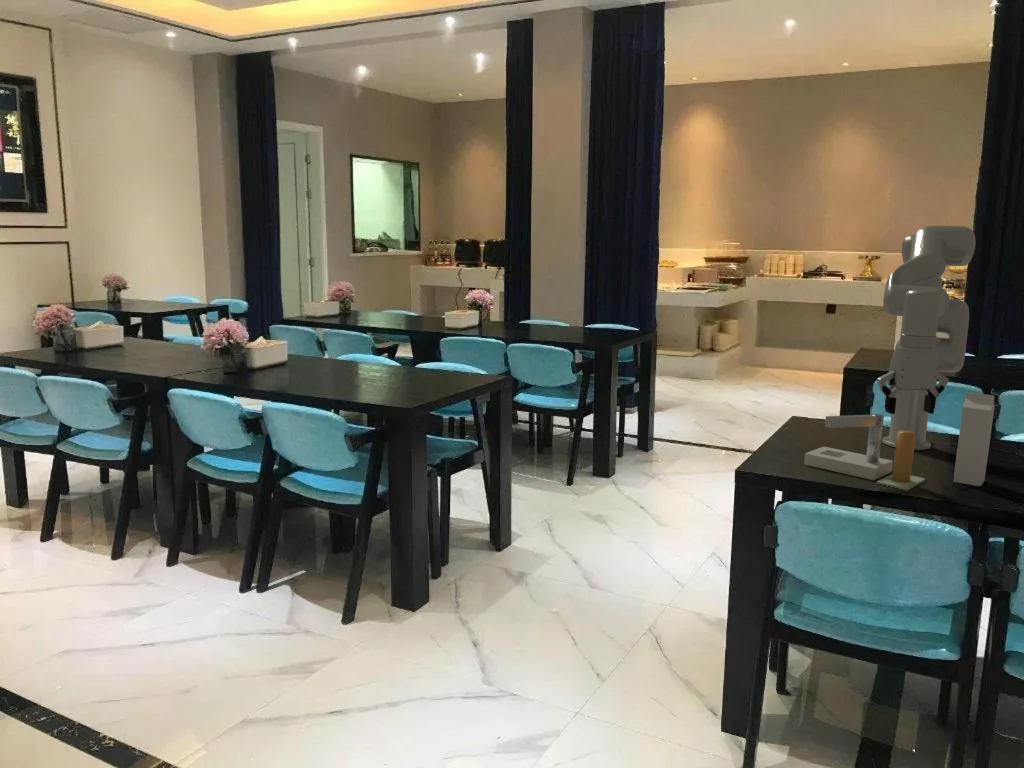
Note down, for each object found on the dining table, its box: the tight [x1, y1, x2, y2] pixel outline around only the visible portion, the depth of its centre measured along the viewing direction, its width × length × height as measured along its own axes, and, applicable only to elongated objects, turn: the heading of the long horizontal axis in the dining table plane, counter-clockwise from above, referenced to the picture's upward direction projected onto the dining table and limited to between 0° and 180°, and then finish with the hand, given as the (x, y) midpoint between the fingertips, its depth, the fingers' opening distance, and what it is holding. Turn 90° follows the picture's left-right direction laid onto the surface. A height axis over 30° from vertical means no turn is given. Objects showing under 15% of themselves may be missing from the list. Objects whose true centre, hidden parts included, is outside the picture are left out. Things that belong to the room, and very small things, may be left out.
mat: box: [876, 473, 926, 492], centre depth 196 cm, size 12×7×1 cm, turn 135°
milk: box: [952, 392, 995, 487], centre depth 196 cm, size 6×6×22 cm
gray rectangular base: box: [803, 446, 894, 481], centre depth 207 cm, size 11×18×3 cm, turn 45°
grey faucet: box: [824, 413, 885, 462], centre depth 200 cm, size 3×16×12 cm, turn 105°
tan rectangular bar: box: [892, 430, 916, 482], centre depth 195 cm, size 4×4×12 cm
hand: (909, 412), depth 194 cm, fingers open, 9 cm apart
